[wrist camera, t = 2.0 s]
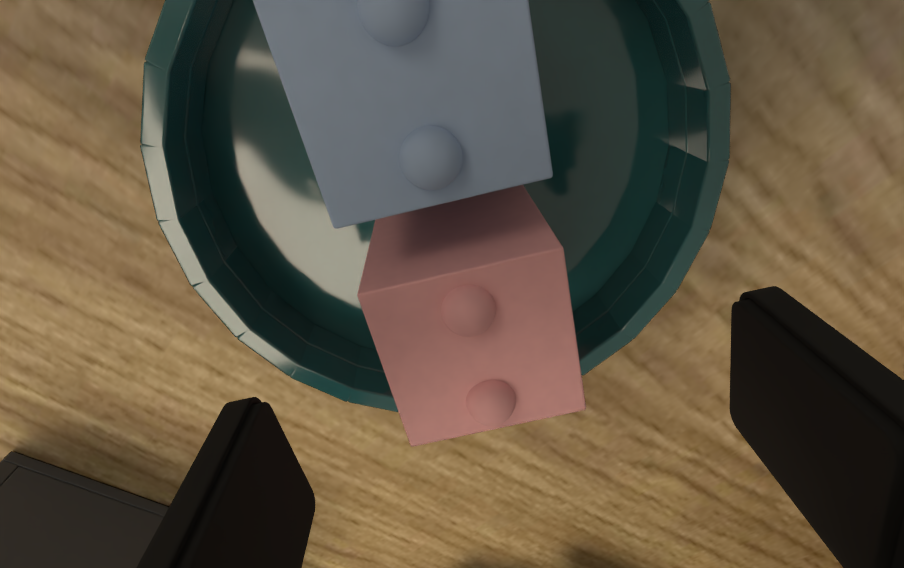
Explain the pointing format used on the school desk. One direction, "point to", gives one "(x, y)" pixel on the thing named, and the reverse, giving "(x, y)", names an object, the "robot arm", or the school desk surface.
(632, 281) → the bowl
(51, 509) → the bin
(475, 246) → the pink toy
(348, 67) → the block
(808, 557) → the school desk surface
